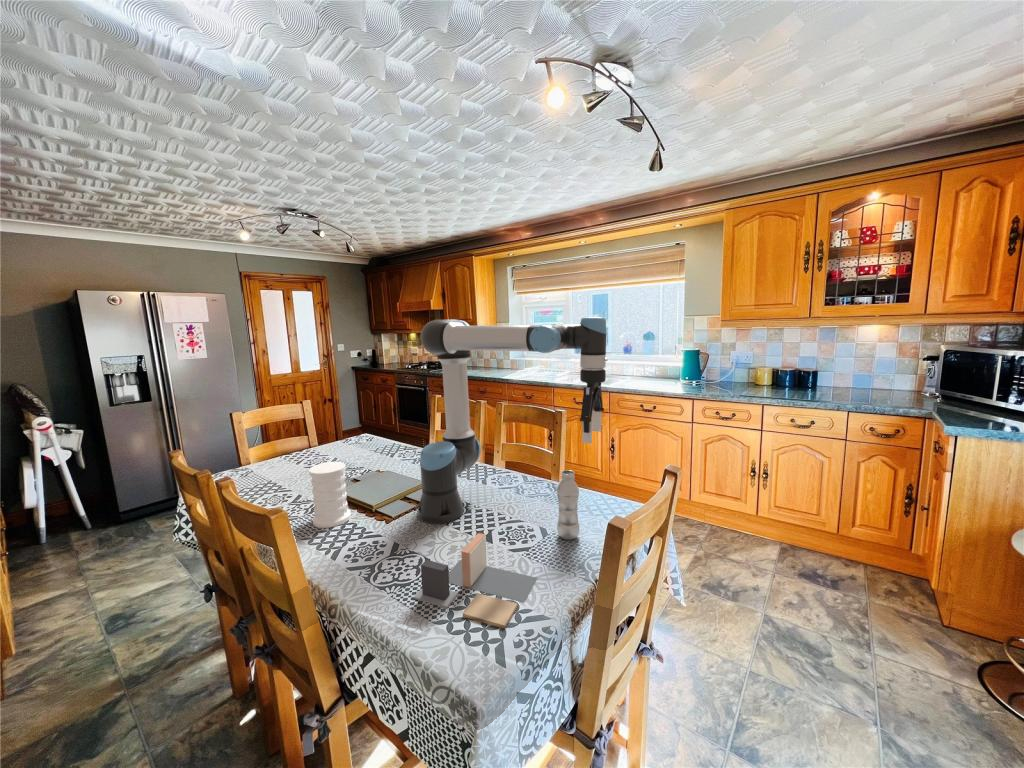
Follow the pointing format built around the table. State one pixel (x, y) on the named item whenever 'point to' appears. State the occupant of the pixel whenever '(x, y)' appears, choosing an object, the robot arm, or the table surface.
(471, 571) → the tile
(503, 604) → the board
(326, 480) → the decorative container
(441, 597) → the grout float
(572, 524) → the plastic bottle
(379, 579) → the table surface
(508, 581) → the mat
